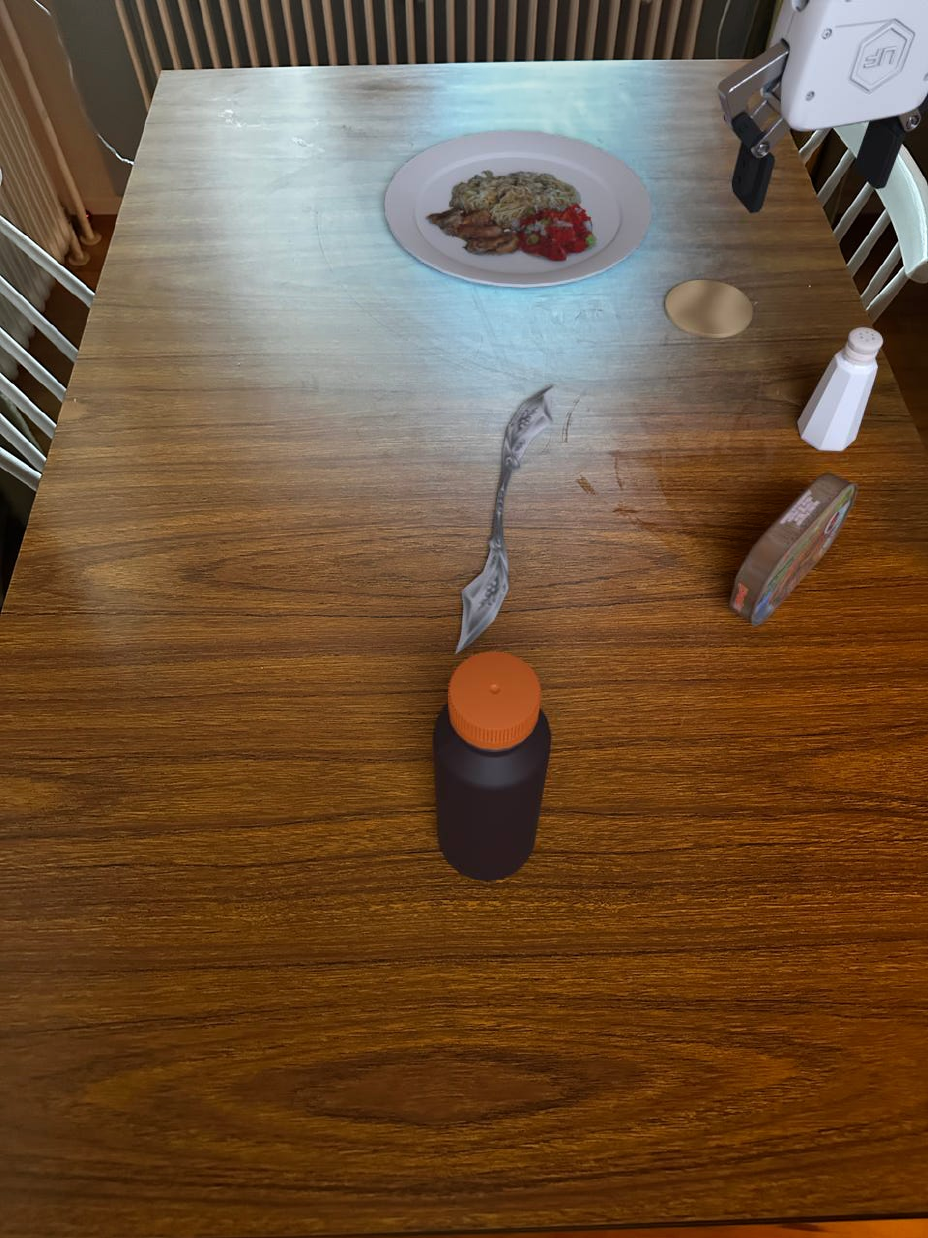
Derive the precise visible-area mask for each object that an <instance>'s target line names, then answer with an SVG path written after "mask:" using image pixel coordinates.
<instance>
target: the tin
mask: <svg viewBox="0 0 928 1238" xmlns="http://www.w3.org/2000/svg"><path fill="white" fill-rule="evenodd" d="M858 492H859V485H858V484H857V482H851V481H849V480H848V479H845V478H843V477H841V476H839V475H837V474H835V473H832V472H824V473H821V474H820V475H818V476H817V477H816V478H814V480H812V481H811V482H810V483H809V484H808V485H807V487H806V488H804V490H802V492H801V493H800V494H799V495H798V496H797V497H796V498H795V499H794V500H793V501H792V502H791V503H790V504H789V505H788V507H786V508H785V510H784V511H783V512H782V513H781V514H780V515H779V516H778V517H777V518H776V519H775V520H774V521H773V522H772V523H771V525H769V527H767V529H766V530H765V531H764V532H763V533H762V534H761V536H760V537H759V538H758V539H757V541H756V542H755V543H754V545H753V546H752V548H751V549H749V551H748V553H747V555H746V556H745V558H744V560H743V562H742V564H741V565H740V567H739V569H738V571H737V574H736V576H735V578H734V583H733V588H732V590H731V594H730V597H729V601H728V604H727V606H728V609H730V611H732V612H733V613H735V614H736V615H738V616H740V617H741V618H743V619H744V620H746V621H747V622H748V621H749V622H750V624H751V625H752V626H754V627H757V626H760V625H761V624H763V623H764V622H765V621H767V619H768V618H770V617H771V616H772V615H773V614H774V612H776V610H777V609H778V608H779V606H781V605H782V603H783V602H784V601H785V600H786V599H787V598H788V597H789V595H790V594H791V593H792V592H793V591H794V590H795V588H796V587H797V586H798V585H799V584H800V583H801V582H802V581H803V579H805V578H806V576H807V575H808V574H809V573H810V572H811V571H812V569H813V568H815V566H816V565H817V564H818V563H819V561H820V560H821V559H822V558H823V557H824V555H825V554H826V552H827V551H828V550H829V548H830V547H831V545H832V544H833V543H834V541H835V540H836V538H837V536H838V534H839V533H840V531H841V529H842V528H843V526H844V524H845V522H846V520H847V518H848V516H849V514H850V512H851V511H852V509H853V506H854V503H855V501H856V499H857V495H858Z"/></svg>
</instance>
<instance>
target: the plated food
mask: <svg viewBox="0 0 928 1238" xmlns="http://www.w3.org/2000/svg"><path fill="white" fill-rule="evenodd" d="M383 205H384V213H385V220H386V223H387V226H388V227H389V229H390V232H391V233H392V236H393V237H394V238H395V239H396V240H397V242H398V243H399V244H400V245H401V246H402V248H403V249H404V250H405V251H406V252H408V253H409V254H410V255H412V256H413V257H415V258H416V259H417V260H418V261H420V262H421V263H423V264H425V265H426V266H429V267H431V268H433V269H435V270H437V271H439V272H441V273H443V274H445V275H449V276H451V277H456V278H458V279H461V280H464V281H467V282H470V283H477V284H481V285H489V286H494V287H505V288H506V287H507V288H523V289H527V288H542V287H554V286H558V285H564V284H568V283H574V282H579V281H582V280H585V279H587V278H590V277H593V276H596V275H599V274H601V273H604V272H606V271H607V270H609V269H611V268H613V267H615V266H616V265H618V264H620V263H622V262H623V261H625V260H626V259H627V258H628V257H629V256H630V255H631V254H633V253H634V252H635V251H636V250H637V249H638V248H639V247H640V245H641V244H642V243H643V241H644V239H645V238H646V236H647V234H648V232H649V229H650V226H651V221H652V219H653V218H652V217H653V209H652V200H651V196H650V194H649V192H648V189H647V186H646V185H645V184H644V182H643V181H642V179H641V178H640V177H639V175H638V174H637V173H636V172H635V171H634V170H633V169H632V168H630V167H629V166H628V165H627V164H626V163H625V162H623V161H622V160H621V159H620V158H618V157H616V156H615V155H613V154H611V153H610V152H608V151H606V150H604V149H602V148H599V147H597V146H595V145H592V144H590V143H587V142H585V141H582V140H578V139H575V138H571V137H567V136H563V135H559V134H553V133H547V132H539V131H529V130H528V131H526V130H497V131H486V132H480V133H474V134H467V135H462V136H459V137H456V138H453V139H450V140H446V141H443V142H441V143H438V144H436V145H434V146H431V147H429V148H427V149H425V150H423V151H421V152H420V153H418V154H417V155H416V156H414V157H412V158H411V159H409V160H408V161H406V162H405V164H404V165H403V166H402V167H401V168H400V169H398V171H397V172H395V174H394V176H393V177H392V179H391V181H390V183H389V184H388V186H387V189H386V193H385V196H384V202H383Z"/></svg>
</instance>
